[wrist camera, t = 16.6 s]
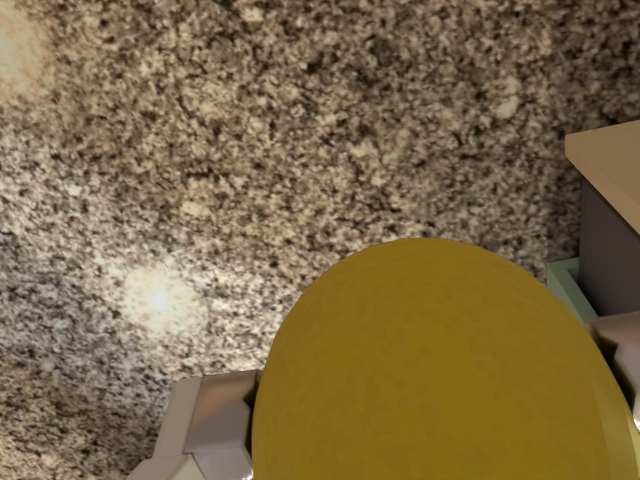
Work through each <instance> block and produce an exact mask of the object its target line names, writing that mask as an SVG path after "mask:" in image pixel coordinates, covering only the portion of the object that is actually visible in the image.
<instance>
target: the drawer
mask: <svg viewBox="0 0 640 480" xmlns="http://www.w3.org/2000/svg"><path fill="white" fill-rule="evenodd" d="M565 156H566V157H567V158H568V159H569V160H570V161H571V162H572V164H573V165H574V166H575V167H576V168H577V169H578V170H579V171H580V172H581V173H582V174H583V175H584V176H585V177H586V179H583V180H582V200H581V224H580V249H579V273H578V287H579V288H580V290H581V291H582V293H583V294H584V296H585V297H586V299H587V300H588V302H589V303H590V305H591V306H592V308H593V309H594V311H595V312H596V314H597V315H598V317H602V316H608V315H614V314H620V313H626V312H633V311H639V310H640V120H637V121H632V122H627V123H622V124H617V125H612V126H607V127H602V128H597V129H592V130H588V131H583V132H578V133H573V134H568V135H565Z"/></svg>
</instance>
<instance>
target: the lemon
mask: <svg viewBox="0 0 640 480" xmlns="http://www.w3.org/2000/svg"><path fill="white" fill-rule="evenodd" d="M252 467H253V480H640V435H639V432H638V429H637V426H636V423H635V420H634V418H633V416H632V413H631V411H630V408H629V406H628V404H627V401H626V399H625V397H624V395H623V393H622V391H621V389H620V387H619V385H618V383H617V381H616V379H615V377H614V375H613V374H612V372H611V370H610V368H609V366H608V365H607V363H606V361H605V359H604V358H603V356H602V354H601V352H600V350H599V349H598V347H597V345H596V344H595V342H594V341H593V339H592V338H591V336H590V334H589V333H588V331H587V330H586V328H585V327H584V326H583V324H582V323H581V322H580V321H579V319H578V318H577V317H576V316H575V314H574V313H573V312H572V311H571V310H570V309H569V308H568V307H567V306H566V305H565V304H564V303H563V302H562V301H561V300H560V299H559V298H558V297H557V296H556V295H555V294H553V293H552V292H551V291H550V290H549V289H547V288H546V287H545V286H544V285H543V284H542V283H540V282H539V281H538V280H537V279H536V278H534V277H533V276H532V275H531V274H530V273H528V272H527V271H526V270H525V269H523V268H522V267H521V266H519V265H517V264H515V263H513V262H512V261H510V260H508V259H506V258H503V257H501V256H499V255H497V254H495V253H492V252H490V251H488V250H486V249H484V248H481V247H479V246H476V245H472V244H469V243H463V242H458V241H453V240H448V239H442V238H437V237H430V238H402V239H398V240H394V241H390V242H385V243H381V244H377V245H373V246H369V247H367V248H365V249H363V250H361V251H359V252H357V253H355V254H353V255H351V256H348V257H346V258H344V259H342V260H340V261H339V262H338V263H336V264H335V265H334V266H332V267H331V268H330V269H329V270H327V271H326V272H325V273H324V274H323V275H321V276H320V277H319V278H318V279H317V280H315V281H314V282H313V283H312V284H310V285H309V286H308V288H307V289H306V290H305V291H304V293H303V294H302V295H301V297H300V298H299V299H298V301H297V302H296V304H295V305H294V306H293V308H292V309H291V311H290V312H289V313H288V315H287V316H286V318H285V319H284V320H283V322H282V324H281V326H280V328H279V330H278V331H277V333H276V336H275V338H274V341H273V344H272V346H271V349H270V352H269V355H268V358H267V361H266V365H265V368H264V371H263V374H262V377H261V381H260V384H259V388H258V392H257V396H256V401H255V407H254V413H253V425H252Z"/></svg>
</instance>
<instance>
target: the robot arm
mask: <svg viewBox="0 0 640 480" xmlns="http://www.w3.org/2000/svg"><path fill="white" fill-rule="evenodd" d="M583 326H584V327H585V328H586V330H587V331H588V333H589V334H590V336H591V338H592V339H593V341H594V342H595V344H596V345H597V347H598V349H599V350H600V352H601V354H602V356H603V358H604V359H605V361H606V363H607V365H608V366H609V368H610V370H611V372H612V374H613V375H614V377H615V379H616V381H617V383H618V385H619V387H620V389H621V391H622V393H623V395H624V397H625V399H626V401H627V404H628V406H629V408H630V411H631V413H632V416H633V418H634V420H635V423H636V426H637V429H638V432H639V435H640V310H639V311H633V312H626V313H620V314H614V315H608V316H602V317H595V318H589V319H585V321H584V323H583ZM262 374H263V372H262V370H259V369H255V370H247V371H239V372H231V373H223V374H215V375H207V376H204V377H196V378H188V379H180V380H179V381H178V382H177V383H176V384H175V386H174V387H173V390H172V394H171V397H170V400H169V403H168V406H167V410H166V413H165V416H164V419H163V422H162V426H161V429H160V432H159V435H158V438H157V442H156V445H155V448H154V451H153V454H152V458H151V459H146V460H143V461H142V462H141V463H140V464H139V465H138V466H137V467H136V468H135V469H134V470H133V471H132V472H131V473H130V474H129V475H128V476H127V477H126V478H125V480H253V467H252V425H253V413H254V407H255V401H256V396H257V392H258V388H259V384H260V381H261V377H262Z"/></svg>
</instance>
